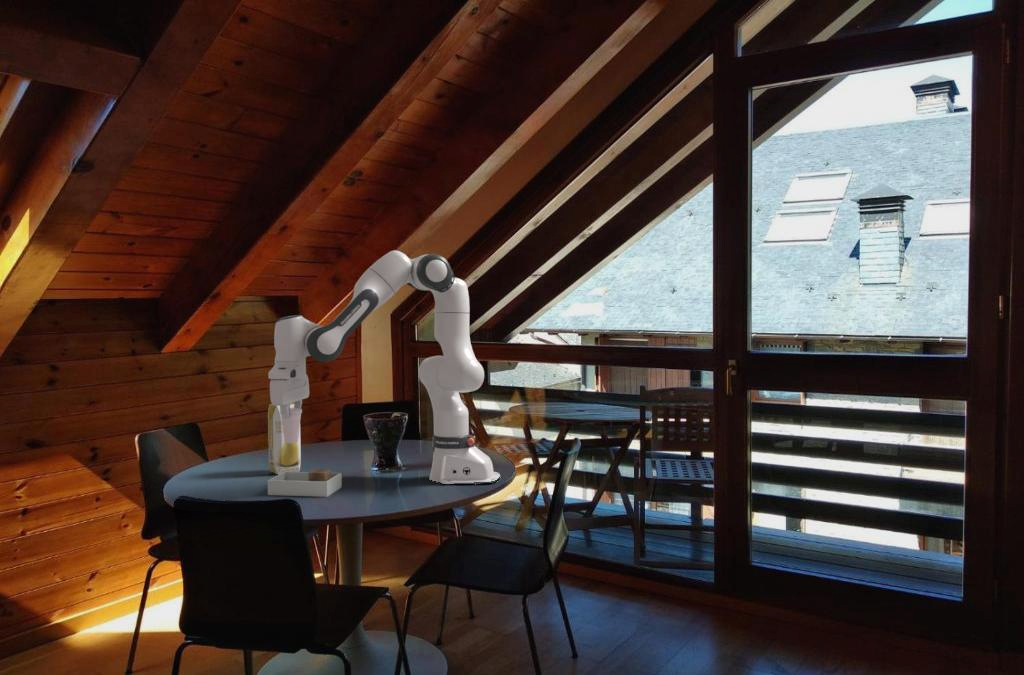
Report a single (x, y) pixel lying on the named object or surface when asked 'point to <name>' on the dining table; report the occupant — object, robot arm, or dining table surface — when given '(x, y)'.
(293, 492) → the crate
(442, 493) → the dining table surface
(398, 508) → the dining table surface
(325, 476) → the walnut block
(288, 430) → the smoothie
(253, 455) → the dining table surface
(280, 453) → the juice carton
